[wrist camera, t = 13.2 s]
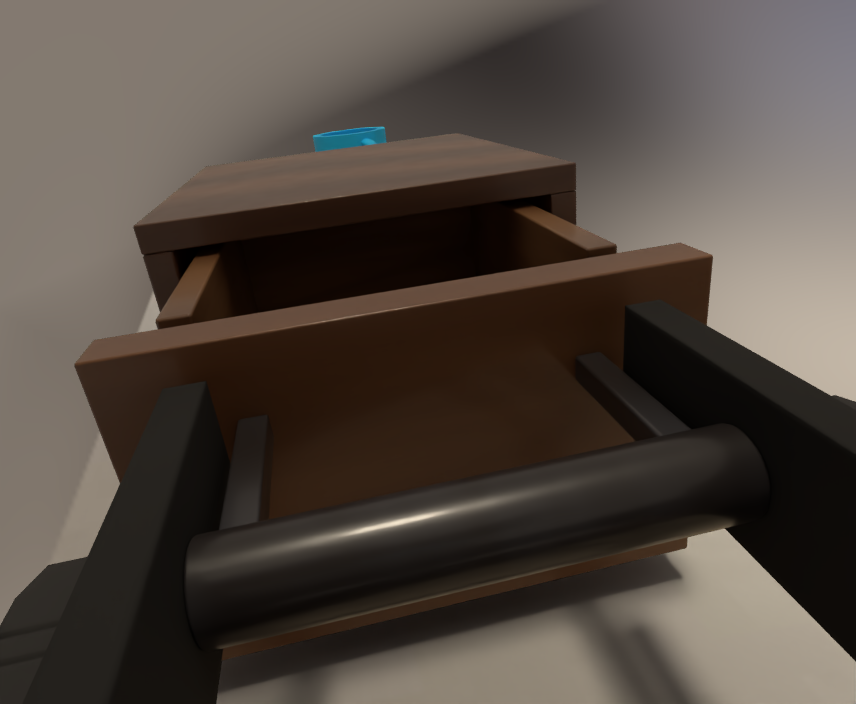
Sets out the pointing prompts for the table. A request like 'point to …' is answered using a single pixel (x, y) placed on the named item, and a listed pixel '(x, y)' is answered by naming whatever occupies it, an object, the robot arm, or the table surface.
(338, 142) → the mug
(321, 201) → the cabinet
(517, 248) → the drawer
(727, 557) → the table surface
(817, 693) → the table surface
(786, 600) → the table surface
